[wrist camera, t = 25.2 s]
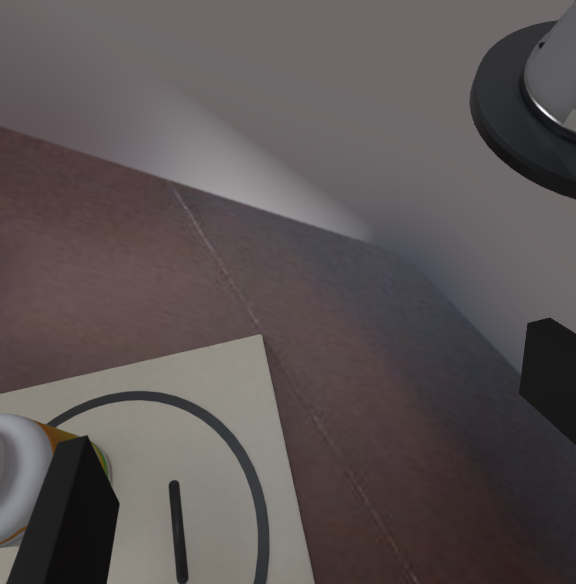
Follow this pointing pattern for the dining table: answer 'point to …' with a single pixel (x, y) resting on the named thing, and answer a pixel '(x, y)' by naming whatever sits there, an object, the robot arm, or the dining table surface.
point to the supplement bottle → (26, 470)
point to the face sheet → (186, 466)
